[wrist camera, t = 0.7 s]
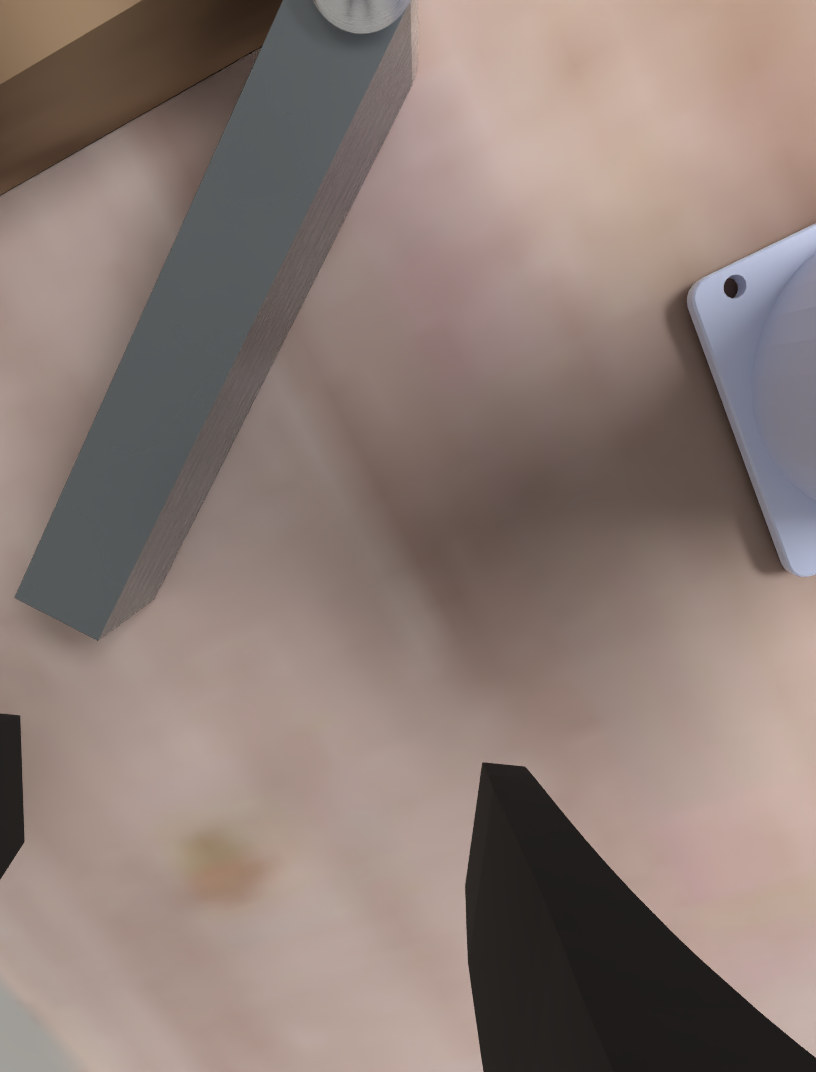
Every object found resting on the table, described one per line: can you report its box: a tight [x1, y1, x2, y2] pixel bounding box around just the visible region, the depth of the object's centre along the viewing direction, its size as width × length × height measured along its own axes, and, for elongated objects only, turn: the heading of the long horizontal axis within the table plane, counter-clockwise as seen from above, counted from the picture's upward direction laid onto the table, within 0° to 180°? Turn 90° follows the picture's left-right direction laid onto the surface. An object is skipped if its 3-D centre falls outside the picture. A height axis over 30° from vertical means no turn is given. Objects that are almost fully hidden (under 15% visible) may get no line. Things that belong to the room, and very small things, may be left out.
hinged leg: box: [15, 0, 418, 641], centre depth 14 cm, size 15×2×4 cm, turn 150°
